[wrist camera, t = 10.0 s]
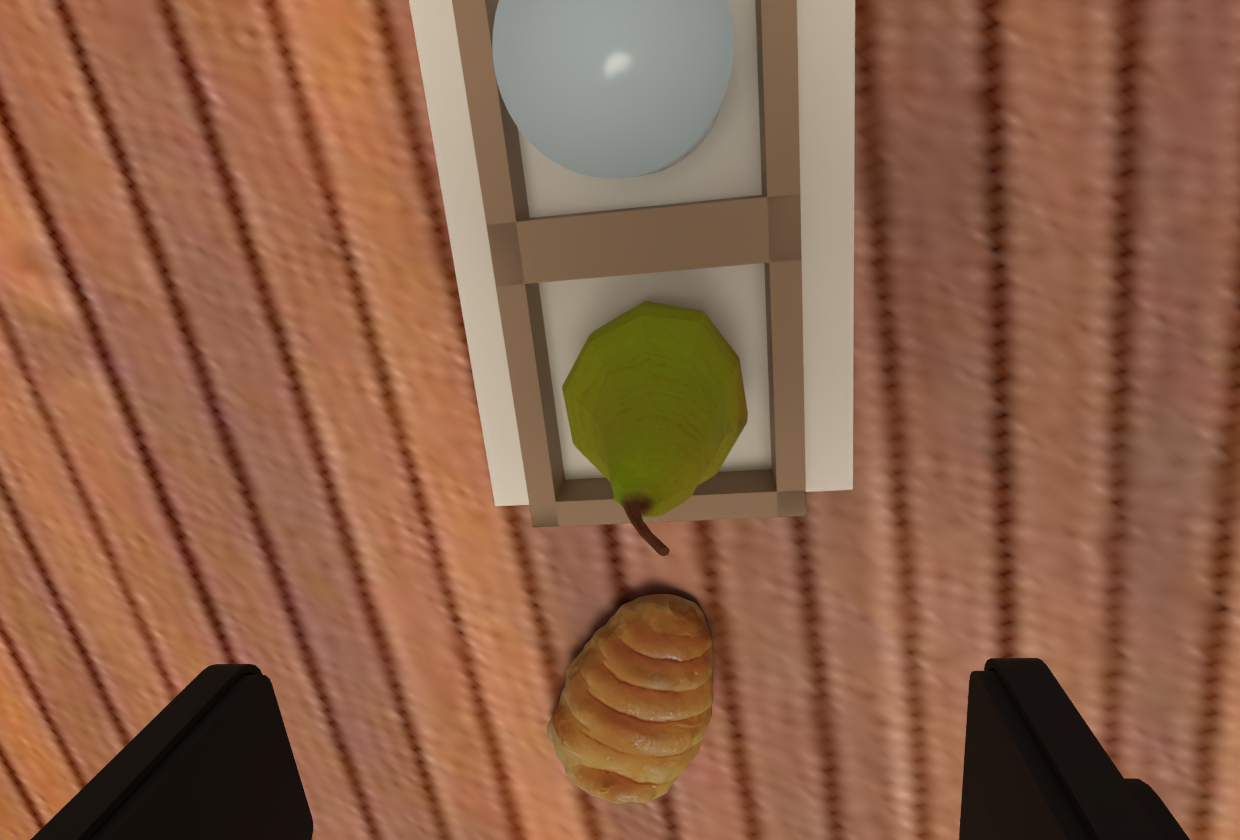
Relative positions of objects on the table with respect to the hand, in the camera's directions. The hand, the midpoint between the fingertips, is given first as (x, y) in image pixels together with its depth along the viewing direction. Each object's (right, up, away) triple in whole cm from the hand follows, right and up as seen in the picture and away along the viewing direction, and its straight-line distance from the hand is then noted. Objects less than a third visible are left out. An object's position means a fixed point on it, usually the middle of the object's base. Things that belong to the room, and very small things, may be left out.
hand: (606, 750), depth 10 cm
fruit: (+2, +6, +17) cm, 18 cm away
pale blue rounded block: (+1, +15, +14) cm, 21 cm away
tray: (+1, +11, +17) cm, 20 cm away
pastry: (+1, -7, +24) cm, 25 cm away
